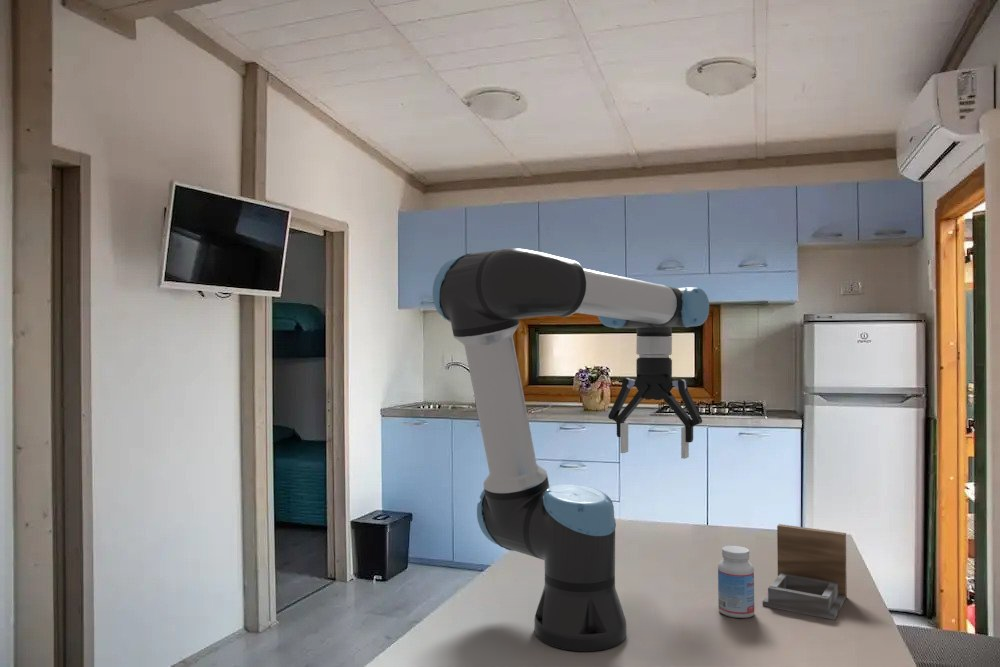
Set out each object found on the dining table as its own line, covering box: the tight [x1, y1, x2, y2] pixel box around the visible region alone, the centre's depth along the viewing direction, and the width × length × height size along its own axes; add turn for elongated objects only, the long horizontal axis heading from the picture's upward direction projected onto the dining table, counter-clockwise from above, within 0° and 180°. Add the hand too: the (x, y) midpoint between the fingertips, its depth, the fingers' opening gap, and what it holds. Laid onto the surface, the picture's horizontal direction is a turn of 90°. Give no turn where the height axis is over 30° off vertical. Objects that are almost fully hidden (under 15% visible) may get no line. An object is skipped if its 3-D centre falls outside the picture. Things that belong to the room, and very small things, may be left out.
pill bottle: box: [717, 545, 755, 619], centre depth 126 cm, size 6×6×11 cm
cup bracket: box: [762, 523, 848, 621], centre depth 132 cm, size 13×12×12 cm
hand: (653, 455), depth 154 cm, fingers open, 13 cm apart
